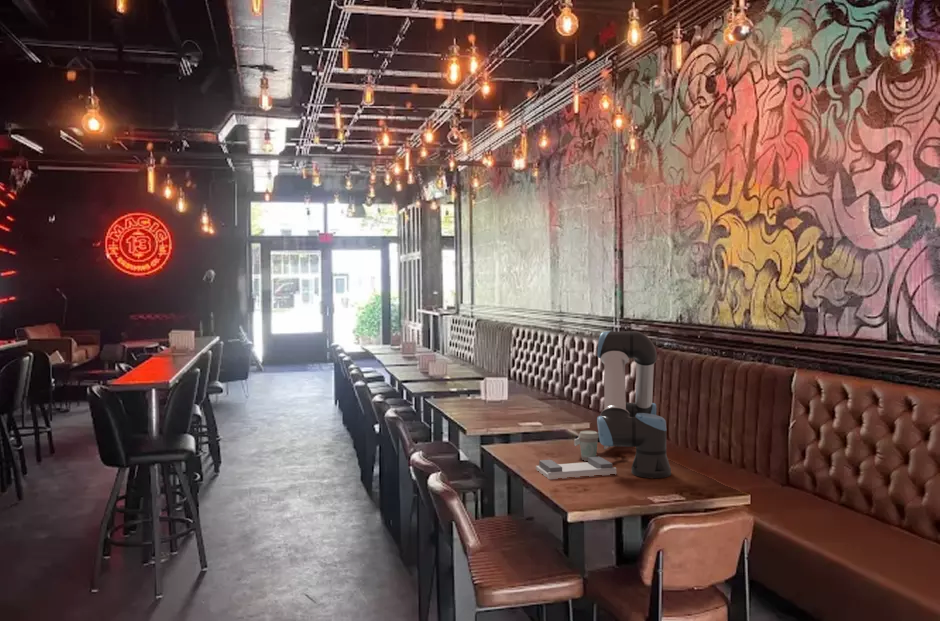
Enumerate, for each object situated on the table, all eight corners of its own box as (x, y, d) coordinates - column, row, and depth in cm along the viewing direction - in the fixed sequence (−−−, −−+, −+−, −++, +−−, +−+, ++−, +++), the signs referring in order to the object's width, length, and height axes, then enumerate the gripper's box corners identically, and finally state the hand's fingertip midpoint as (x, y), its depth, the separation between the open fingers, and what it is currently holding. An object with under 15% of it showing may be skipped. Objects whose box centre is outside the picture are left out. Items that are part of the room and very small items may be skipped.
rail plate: (600, 464, 304) (599, 455, 304) (616, 474, 288) (616, 464, 288) (535, 469, 297) (535, 459, 297) (548, 479, 282) (548, 469, 282)
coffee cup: (574, 460, 313) (574, 432, 312) (587, 456, 318) (587, 429, 318) (590, 463, 306) (590, 435, 306) (603, 460, 312) (602, 432, 311)
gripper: (634, 446, 325) (617, 456, 307) (582, 441, 338) (563, 449, 320) (634, 429, 325) (617, 438, 307) (582, 424, 338) (562, 432, 320)
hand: (589, 444), depth 314 cm, fingers open, 13 cm apart
